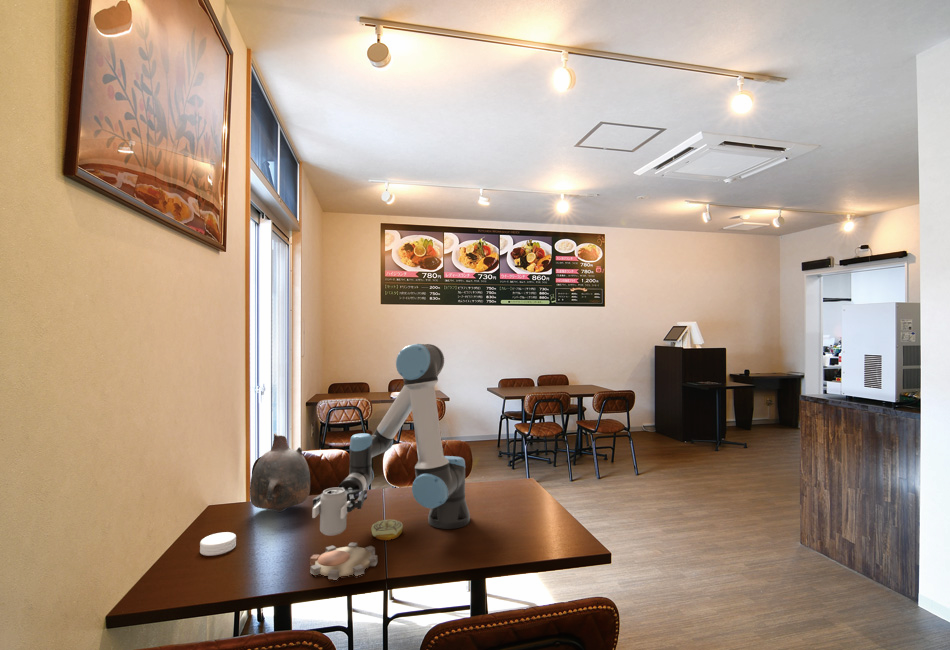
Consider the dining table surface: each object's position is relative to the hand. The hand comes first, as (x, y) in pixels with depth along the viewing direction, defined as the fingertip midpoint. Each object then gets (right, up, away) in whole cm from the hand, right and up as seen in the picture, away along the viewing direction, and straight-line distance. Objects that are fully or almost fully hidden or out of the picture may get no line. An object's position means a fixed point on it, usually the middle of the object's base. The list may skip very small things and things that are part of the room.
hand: (327, 513), depth 129 cm
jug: (-33, -19, +46) cm, 60 cm away
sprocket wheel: (+3, -16, +4) cm, 17 cm away
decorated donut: (+12, -18, +25) cm, 33 cm away
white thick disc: (-39, -17, +14) cm, 45 cm away
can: (0, -7, +5) cm, 9 cm away
